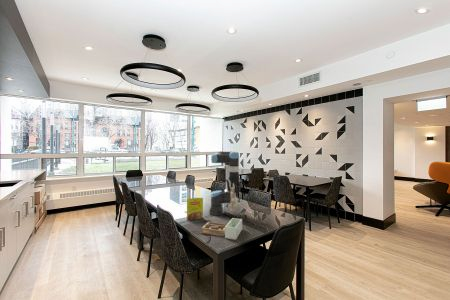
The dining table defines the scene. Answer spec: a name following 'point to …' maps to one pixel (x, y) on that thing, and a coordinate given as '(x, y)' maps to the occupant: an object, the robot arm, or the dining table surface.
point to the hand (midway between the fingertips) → (233, 200)
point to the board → (233, 199)
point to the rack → (206, 229)
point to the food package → (194, 208)
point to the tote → (233, 228)
